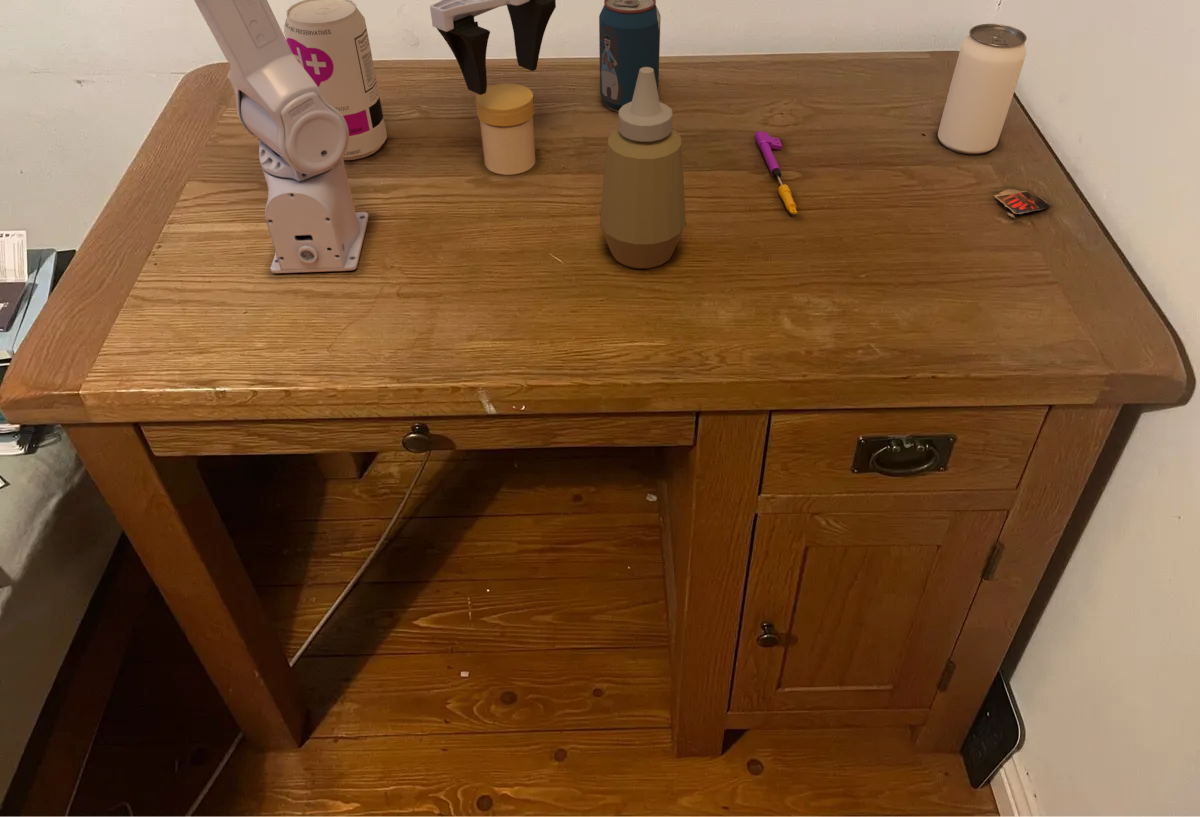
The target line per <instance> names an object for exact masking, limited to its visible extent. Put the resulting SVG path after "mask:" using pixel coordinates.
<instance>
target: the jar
mask: <svg viewBox="0 0 1200 817" xmlns="http://www.w3.org/2000/svg"><path fill="white" fill-rule="evenodd" d="M479 126H480V136H481V145H482V154H483V163H484V167H485V168H486V169H487V170H488V171H489V172H491V173H494V174H497V175H502V176H512V175H519V174H522V173H525V172H527V171H529V170H531V169H533V167H534V166H535V164H536V162H537V161H536V160H537V158H536V146H535V144H536V143H535V131H534V115H533V116H532V117H531V118H530V119H529V120H528V121H526V122H524V123H521V124H518V125H514V126H493V125H489V124H486V123H484V122H482V121H481V120H480V119H479Z"/></svg>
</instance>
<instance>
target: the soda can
mask: <svg viewBox="0 0 1200 817" xmlns="http://www.w3.org/2000/svg"><path fill="white" fill-rule="evenodd" d="M603 3H604V5H603V6H602V9H601V11H600V13H599V16H598V28H599V29H598V31H599V32H598V33H599V36H598V39H599V40H598V41H599V44H598V46H599V95H600V98H601V99H602V101H603V102H604V104H605V105H606V107H607V108H608V109H609V110H610V111H613V112H615V113H619V110H620V108H621V107H622V106H623V105H625V104H627V103H629V102H632V99H633V95H634V91H635V87H636V82H637V78H638V74H639V70H640V69H641V68H643V67H650V68H653V69H654V75H655V80H656V85H657V91H658V92H659V82H660V81H659V79H660V78H659V77H660V47H661V19H662V18H661V14H660V11H659V8H658V7H657V5H656V4H657V0H603Z"/></svg>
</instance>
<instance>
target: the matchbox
mask: <svg viewBox="0 0 1200 817" xmlns="http://www.w3.org/2000/svg"><path fill="white" fill-rule="evenodd" d="M993 196H994V197H995V199H997V200H998V201H1000V203H1002V204H1003V205H1004V208H1008V209H1009V210H1010V211H1011V212H1012V213H1010V212H1009V211H1007V216H1010V218H1013V219H1015V220H1017V218H1016V217H1015V215H1017V214H1018V215H1023V214H1025V213H1026V214H1027V213H1030V212H1035V211H1042V210H1045V209H1047V208H1049V207H1051V204H1050V203H1049V202H1047V201H1046V200H1045V199H1044V198H1043V197H1040V196H1039V195H1038V194H1034V193H1032V192H1030V191H1028V190H1021V191H1020V190H1018V189H1015V188H1006V189H1004V190H1003V191H1000V192H998V194H994V195H993ZM1014 214H1015V215H1014Z"/></svg>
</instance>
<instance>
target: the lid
mask: <svg viewBox="0 0 1200 817" xmlns="http://www.w3.org/2000/svg"><path fill="white" fill-rule="evenodd" d="M475 94H476V95H475V107H476V115H477V116H476V117H477V118H478V119H479V121H480V120H481V121H482V122H484V123H486V124H489V125H493V126H514V125H518V124H521V123H524V122H526V121H528V120H529V119H530V118H531V117H532V116H533V117H534V114H535V104H534V93H533V91H532V90H531V89H530V88H528V87H527V86H525V85H522V84H519V83H511V82H504V83H502V82H501V83H496V84H495V83H494V84H491V85H487V90H486V93H484V94H482V95H479V94H477V93H475Z"/></svg>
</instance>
